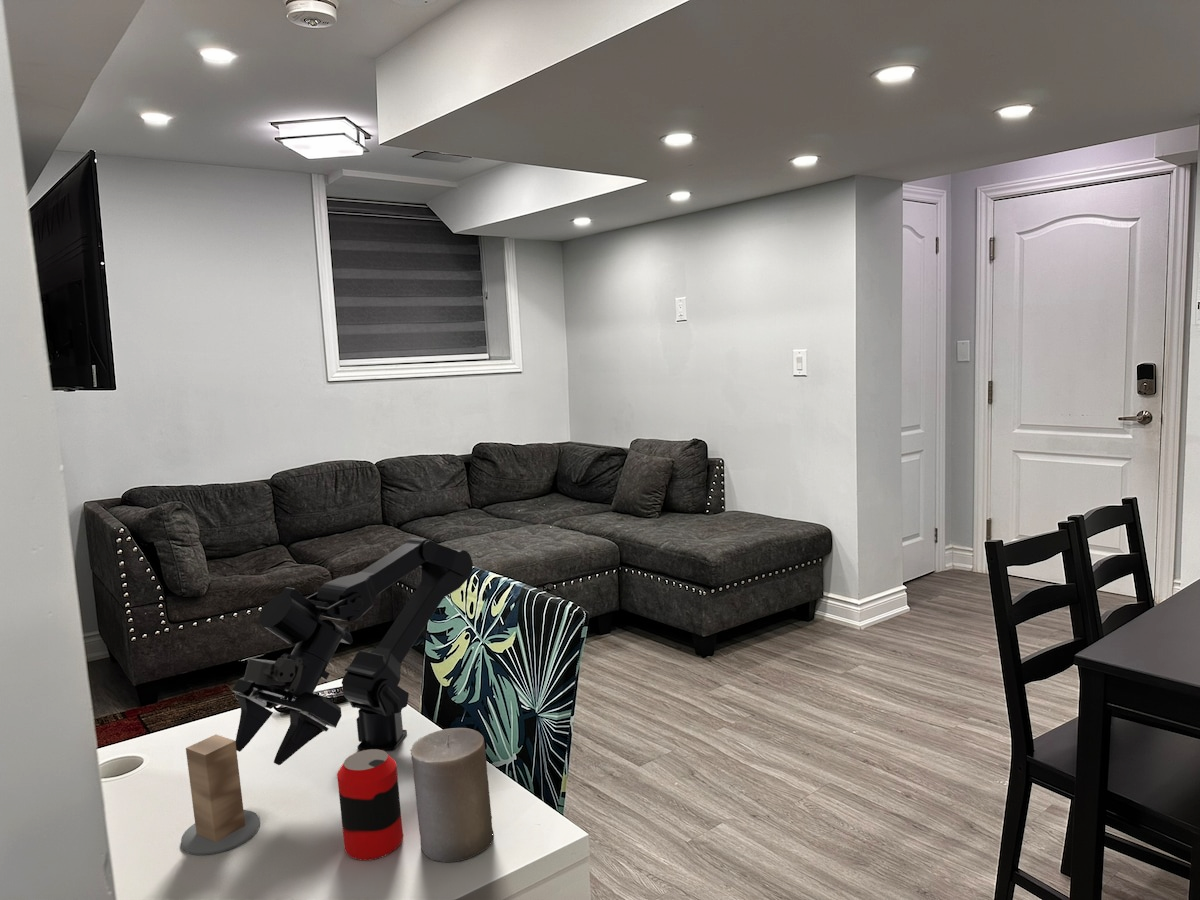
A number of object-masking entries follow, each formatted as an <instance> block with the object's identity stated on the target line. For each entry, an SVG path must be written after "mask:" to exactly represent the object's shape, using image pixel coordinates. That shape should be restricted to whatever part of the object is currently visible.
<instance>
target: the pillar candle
mask: <svg viewBox="0 0 1200 900" xmlns="http://www.w3.org/2000/svg"><path fill="white" fill-rule="evenodd" d="M409 751H410V755H411V764H412V773H413V783H414V791H415V792H414V793H415V802H416V803H415V804H416V811H417V812H416V813H417V821H418V823H417V824H418V828H419V829H418V830H419V837H420V838H419V840H420V847H421V850H422V852H423V853H424V854H425V856H427V857H428V858H429V859H430V860H432V861H435V860H436V862H440V861H442V862H444V863H454V862H453V861H455V862H460V861H463V860H467V859H469V858H473V857H475V856H476V855H478V854H480V853H481V852H484V850H486V849H487V848H489V846H490V845H491V844H492V842H493V840H494V829H493V822H492V821H493V820H492V819H493V815H492V808H491V799H490V798H491V797H490V786H489V785H490V784H489V777H488V776H489V774H488V765H487V754H486V752H487V751H486V743H485V738H484V736H483V735H482V733H480V731H478V730H475V729H472V728H467V727H453V728H452V727H451V728H445V729H440V730H437V731H434V732H431V733H428V734H426V735H424V736H422V737H419V738H418V739H417V740H416V741H414V743H413V744H412V746H411V748H410V750H409ZM492 834H493V835H492ZM490 843H491V844H490ZM442 862H441V863H442Z"/></svg>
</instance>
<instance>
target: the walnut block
mask: <svg viewBox="0 0 1200 900" xmlns="http://www.w3.org/2000/svg"><path fill="white" fill-rule="evenodd" d="M235 741H236V740H234V739H231V738H228V737H225V736H222V735H220V734H214V735H211V736H209V737H207V738H204V739H202V740H201V741H198V742H196V743H194V744H192V745H190V746H187V747H185V753H186V754H185V755H186V761H187V767H188V768H187V771H188V777H189V787H190V793H191V794H190V795H191V799H192V808H193V816H194V824H195V826H196V834H198V835H201V836H203V837H205V838H207V839H210V840H212V841H214V842H217V841H219V840H221V839H223V838H224V837H226V836H228V835H230V834H231V833H233V832H235V831H236V830H238V829H240V828H242V827H243V826H245V819H244V810H245V809H244V803H243V795H242V786H241V778H240V769H239V760H238V751H237V750H236V742H235Z"/></svg>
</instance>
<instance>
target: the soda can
mask: <svg viewBox="0 0 1200 900" xmlns="http://www.w3.org/2000/svg"><path fill="white" fill-rule="evenodd" d="M397 767H398V766H397V762H396V761H395V759H394V758H393V757H392V756H390V755H389V754H388V753H387V752H386V750H378V749H370V750H359V751H357V752H354V753H352V754H351V755H349V756H348V757H347V758H345V760H344V761H343V763H342V765H341V766H340V768H339V770H338V771H337V773H336V776H337V777H336V778H337V786H338V797H339V805H340V807H339V808H340V815H341V826H342V834H343V835H342V836H343V844H344V845H343V846H344V851H345V853H346V854H347V855H348V856H349V857H350V858H353V859H354V858H356V859H355V860H358V859H361V860H360V861H370V860H369V859H373V860H376V859H375V858H377V859H380V858H379V857H381V858H383V857H386V856H388V855H390V854H391V853H393V852H394V851H395V850H397V849H398V847H399V846H400V845H401V843H402V842H403V838H404V833H403V822H402V821H403V820H402V811H401V801H400V791H399V779H398V769H397ZM392 851H393V852H392ZM389 853H390V854H389ZM387 854H388V855H387ZM385 855H386V856H385ZM382 856H383V857H382Z"/></svg>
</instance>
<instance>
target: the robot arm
mask: <svg viewBox="0 0 1200 900" xmlns="http://www.w3.org/2000/svg"><path fill="white" fill-rule="evenodd" d="M473 566H474V563H473V559H472V557H471V554H470V553H469V552H468V550H464V549H456V548H455V549H454V548H450V547H447V546H443V545H441V544H439V543H437V542H435V541H433V540H431V539H428V538H421V537H420V538H419V537H411V538H409V539H406V540H405V542H404V543H403V544H402V545H400V546H399V547H397V548H396V549H394V550H392V551H390V552H389V553H387V554H385V556H383V557H381V558H380V559H378V560H377V561H374V562H373V563H372V564H370V565H369V566H367V567H366V568H364V569H362V570H361V571H359V572H356V573H353V574H348V575H344V576H339V577H337V578H335V579H332V580H330V581H329V580H328V581H327V582H325V583H323V584H322V585H321V586H320V587H319V588H318V590H317V591H316V592H315V593H313V594H311V595H309V596H307V597H305V596H303V595H302V593H300V591H298V589H296V588H293V587H287V586H286V587H284V589H283V590H282V592H281V593H280V594H277V595H275V596H273V597H272V598H271V599H270V600H269V601H268V602H267V603H265V604H264V605H263V606H262V609H261V610H260V614H259V618H258V619H259V620H258V621H259V624H260V626H262V627H263V628H265V629H266V630H268V631H269V632H271V633H272V634H274V635H275V636H276V637H278V638H280V639H281V640H282V641H284V642H286V643H287V644H289V645H294V648H293V649H292V651H291V653H286V652H284V653H283V654H282V655H280V657H278V658H277V659H276V660H270V659H269V660H268V659H261V658H260V659H258V658H248V659H247V660H248V661H247V665H246V668H245V673H244V676H243V677H240V678H238V680H237V681H236V682H235V684H234V686H233V688H232V690H231V691H232V692H233V693H235V695H234V699H236V701H238V703H239V704H238V705H239V707H240V716H239V717H240V718H239V724H238V728H237V731H236V732H237V733H236V736H235V737H236V738H235V740H234V741H235V742H236V751H237V752H241V751H243V749H244V748H246V746H247V745H248V744H249V743H250V742H251V741H252V739H253V738H254V737H255V736H256V734H257V733H258V732H259V731H260V730H261V728H262V727H263V726H264V725H265V723H266V722H267V721H268V720H269V719H270V717H271V716H272V715H273V713H274V712H272V710H271V709H273V708H275V707H276V706H277V705H278V706H283V707H286V708H289V709H290V710H289V722H290V723H289V727H288V729H287V731H286V732H285V734H284V737H283V739H282V741H281V743H280V746H279V748H278V749H277V751H276V755H275V757H274V760H273V763H274V764H275V765H277V766H281V765H282V764H283V763H284V762H286V761H287V760H289V758H290V757H292V756H293V755H294V754H296V753H297V752H298V751H299V750H300V749H301V748H302V747H304V746H305V745H306V744H308V743H309V742H310V741H312V740H314V739H315V738H316V737H318V736H319V735H320V734H321V733H323V732H328V731H329V730H330V729H329V727H331V728H337V726H338V723H339V721H340V719H341V718H342V708H341V707H340V706H339V705H337V704H336V703H334V702H333V701H331V700H330V699H328V698H326V697H324V696H322V695H320V694H317V693H314V692H315V690H316V688H317V686H318V685H319V683H320V681H321V679H322V680H328V678H329V676H330V673H329V672H328V671H326V670H327V667H328V665H329V663H330V662H331V660H332V658H333V656H334V655H335V652H336V651H337V648H338V646H339V644H340V643H342V644H343V643H344V644H348V645H351V644H353V640H354V639H353V636H352V635H351V631H350V626H349V625H345V624H344V625H343V624H339V625H338V624H337V623H336V622H333V620H338V621H344V622H350V623H351V622H356V621H358V620H359V619H361V618H362V616H363V615H365V614H366V613H367V612H368V611H369V610H370V609H371V608H372V607H373V605H375V604H374V603H375V601H376V598H377V597H378V596H379V595H380V594H381V593H382V592H383V591H385V590H387V589H388V588H390V587H391V586H392V585H394V584H395V583H396V582H397V583H398V581H400V580H401V579H403V578H404V577H406V576H408V574H410V573H411V572H413V571H414V570H416V569H417V568H419V567H420V568H421V569H420V583H419V585H418V586H417V588H416V589H415V591H414V592H413V593H412V595H411V596H410V598H409V599H408V601H407V602H406V604H405V605H404V607H403V609H401V612H399V613H398V616H397V617H396V618H395V620H394V621H393V622H392V624H391V626H390V627H389V629H388V630H387V632H386V634H385V635H384V636H383V638H382V639H381V641H380V642H379V644H378V645H377V646H376V647H375V648H374V649H373V650H371V651H365V650H359V651H358V652H357V653H356V654H355V656H354V658H353V660H352V661H351V663H350V664H349V665H348V666H347V667H345V668H344V671H345V675H344V676H343V678H342V681H341V685H342V688H341V689H342V694H343V696H344V698H345V699H346V700H348V702H349V704H350V706H351V708H354V709H355V708H356V709H358V717H357V718H356V728H357V737H358V738H357V739H358V742H359V744H358V745H357V746H356V747H357V750H358V751H364V750H370V749H378V750H383V751H393V750H396V748H398V746H399V744H400V743H401V742H402V740H403V739H404V738H405V736H406V735H407V733H408V730H407V729H404V726H403V718H402V717H403V714H402V710H403V709H405V708H407V706H408V702H409V695H410V694H409V692H408V691H406V690H404V688H402V687H400V686H399V683H400V681H401V673H402V672H401V671H402V669H401V668H402V662H403V661H404V659H405V658H406V656H407V655H408V653H409V652H410V650H411V649H412V647H413V646H414V644H415V643H416V641H417V639H418V638H419V637H420V635H421V633H422V632H423V630H425V627H426V626H427V625H428V623H429V622H430V620H431V618H432V617H433V616H434V614H435V612H436V610H437V609H438V607H439V606H440V605H441V603H442V601H443V600H444V599H445V598H446V597H447V596H449V595H450V594H453V593H454V592H456V591H457V590H459V589H461V588H462V586H463V585H464V584H465V582H466V581H467V580H468V579H469V578H470V576H471V575H472V573H473V570H474V568H473ZM320 617H325V619H320ZM326 618H328V619H326ZM331 619H333V620H331ZM292 709H293V710H292ZM298 711H299V712H298Z"/></svg>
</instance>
